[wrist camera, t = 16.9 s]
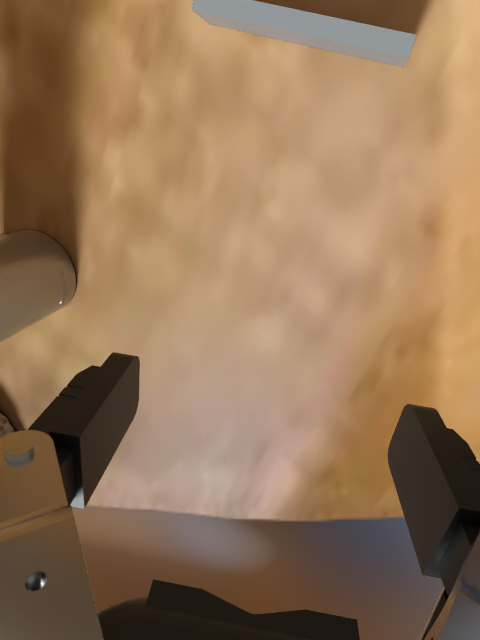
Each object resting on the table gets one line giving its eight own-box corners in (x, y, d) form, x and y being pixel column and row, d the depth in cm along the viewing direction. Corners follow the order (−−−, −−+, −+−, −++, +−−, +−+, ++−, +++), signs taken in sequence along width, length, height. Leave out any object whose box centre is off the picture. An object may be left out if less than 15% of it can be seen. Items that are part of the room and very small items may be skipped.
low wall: (208, 23, 30) (192, 9, 27) (211, 4, 30) (195, -13, 27) (402, 66, 28) (408, 57, 25) (409, 47, 28) (416, 34, 25)
